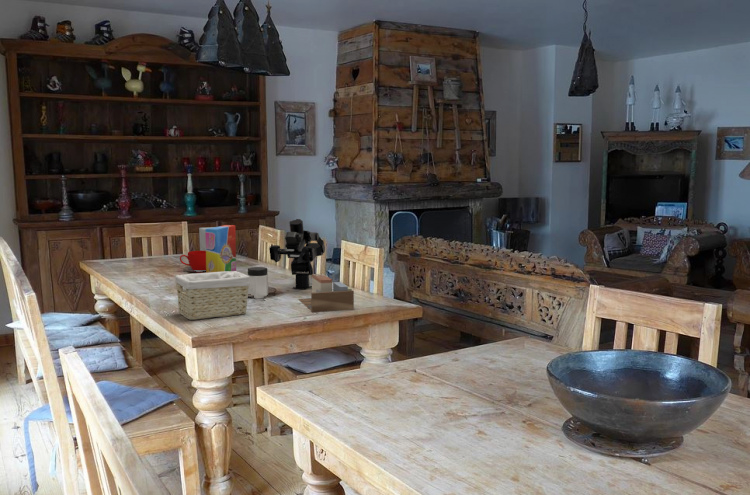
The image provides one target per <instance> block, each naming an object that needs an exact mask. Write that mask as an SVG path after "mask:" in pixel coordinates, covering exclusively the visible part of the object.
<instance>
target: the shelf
mask: <svg viewBox="0 0 750 495" xmlns="http://www.w3.org/2000/svg"><path fill="white" fill-rule="evenodd" d="M354 294H355V291H354V290H353V289H352V290H351V291H334V292H333V291H332V292H317V293H312V292H311V293H310V295H311V296H310V298H298V299H297V300H298V301H299V302H301V303H302V305H304V306H305V307H306V309H308V310H309V311H310V312H312V313H319V312H321V313H322V312H323V313H324V312H334V311H335V312H337V311H353V310H355V309H354V306H355V301H354V298H355V297H354V296H355V295H354ZM308 305H311V309H310V308H309V307H308Z"/></svg>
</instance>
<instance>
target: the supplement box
mask: <svg viewBox="0 0 750 495" xmlns="http://www.w3.org/2000/svg"><path fill="white" fill-rule="evenodd" d="M214 227H215V226H214ZM214 227H213V226H210V227H199V228H198V231H199V232H198V233H199V251H206V235H205V229H208V228H214Z"/></svg>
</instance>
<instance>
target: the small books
mask: <svg viewBox="0 0 750 495" xmlns="http://www.w3.org/2000/svg"><path fill="white" fill-rule="evenodd" d="M351 290H353V288H351V287H349V285H346V284H345V283H343V282H341V281H338V282H337V281H334V282H333V281H332V292H334V291H351Z"/></svg>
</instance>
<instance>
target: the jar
mask: <svg viewBox="0 0 750 495" xmlns="http://www.w3.org/2000/svg"><path fill="white" fill-rule="evenodd" d="M247 275H248V276H249V277H250V285H249V288H248V294H251V295H254V298H255V300H258V299H259V300H260V299H266V296H267V295H269V275H268V268H267V267H265V266H254V267H253V266H252V267H248V268H247ZM254 298H253V299H254Z"/></svg>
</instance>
